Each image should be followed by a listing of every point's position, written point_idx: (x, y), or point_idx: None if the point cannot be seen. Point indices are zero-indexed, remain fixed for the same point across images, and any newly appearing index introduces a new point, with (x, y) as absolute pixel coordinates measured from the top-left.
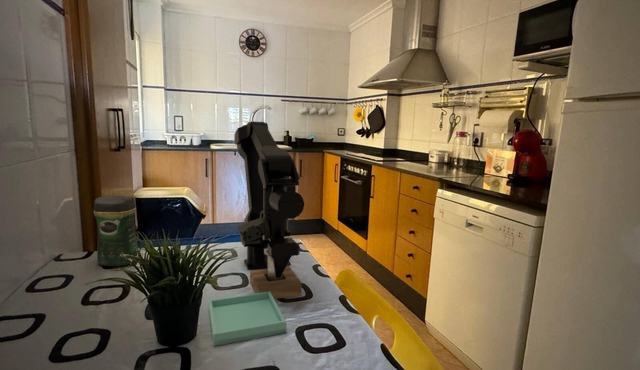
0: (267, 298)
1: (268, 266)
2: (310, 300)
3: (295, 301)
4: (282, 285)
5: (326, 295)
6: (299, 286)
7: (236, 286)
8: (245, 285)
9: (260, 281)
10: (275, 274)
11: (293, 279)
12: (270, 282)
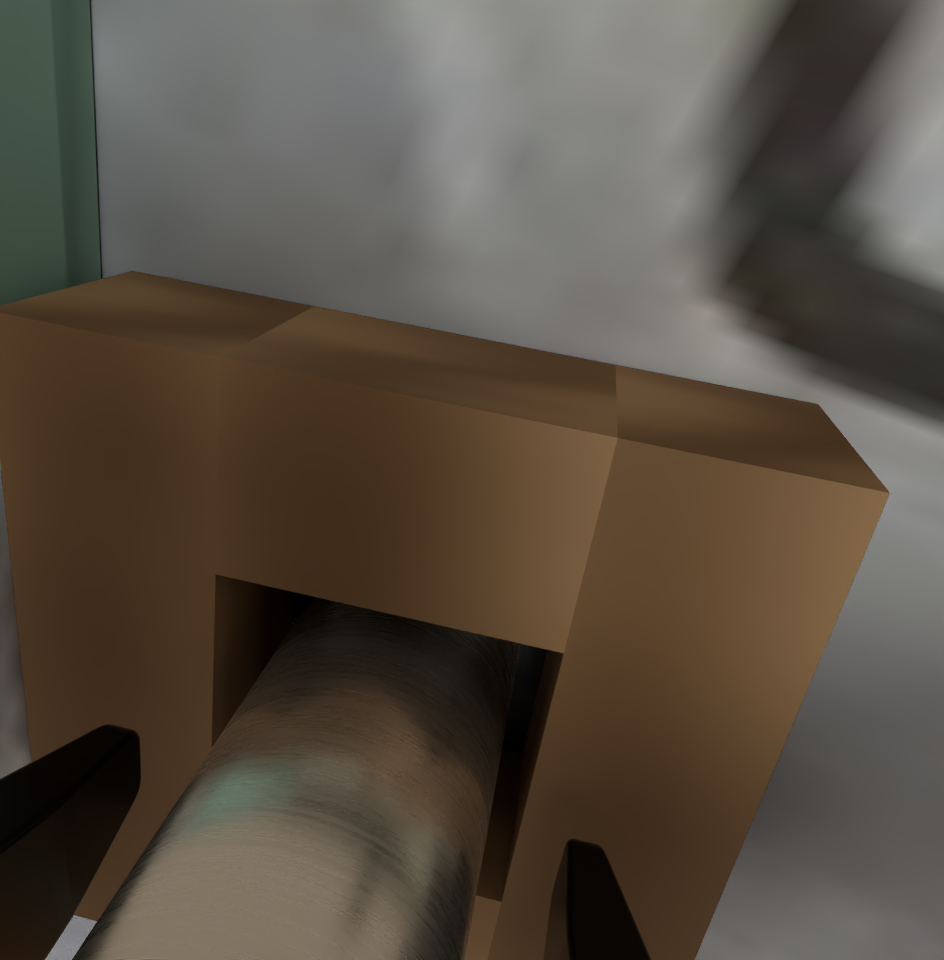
0: None
1: (253, 819)
2: None
3: (20, 657)
4: (24, 688)
5: (69, 928)
6: None
7: (821, 113)
8: (758, 289)
9: (267, 465)
10: (51, 756)
11: None
12: (166, 592)
